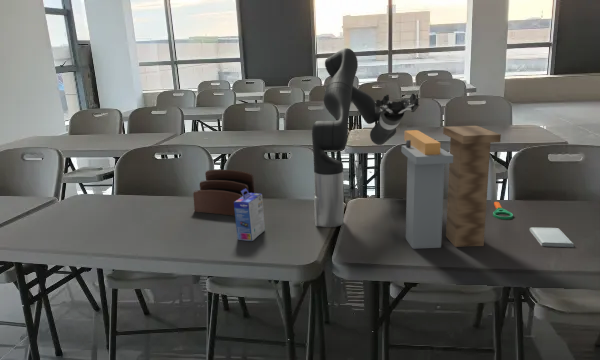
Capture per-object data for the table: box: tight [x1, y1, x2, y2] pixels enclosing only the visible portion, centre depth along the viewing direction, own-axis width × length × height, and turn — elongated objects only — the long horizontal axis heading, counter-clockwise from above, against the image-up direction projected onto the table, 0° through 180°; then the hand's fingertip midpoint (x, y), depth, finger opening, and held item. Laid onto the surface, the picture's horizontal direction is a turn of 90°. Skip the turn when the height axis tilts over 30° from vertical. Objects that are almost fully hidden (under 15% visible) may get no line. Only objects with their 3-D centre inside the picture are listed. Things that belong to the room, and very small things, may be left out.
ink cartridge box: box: [234, 188, 266, 242], centre depth 148 cm, size 10×6×14 cm, turn 161°
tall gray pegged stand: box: [401, 138, 453, 250], centre depth 136 cm, size 10×16×29 cm, turn 2°
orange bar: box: [403, 129, 442, 155], centre depth 137 cm, size 4×22×3 cm, turn 2°
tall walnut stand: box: [442, 125, 502, 248], centre depth 136 cm, size 10×16×32 cm, turn 2°
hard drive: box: [529, 227, 575, 248], centre depth 140 cm, size 2×8×12 cm
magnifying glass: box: [492, 201, 514, 220], centre depth 164 cm, size 15×6×2 cm, turn 168°
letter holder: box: [192, 169, 255, 217], centre depth 174 cm, size 10×20×14 cm, turn 68°
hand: (400, 96), depth 159 cm, fingers open, 8 cm apart
